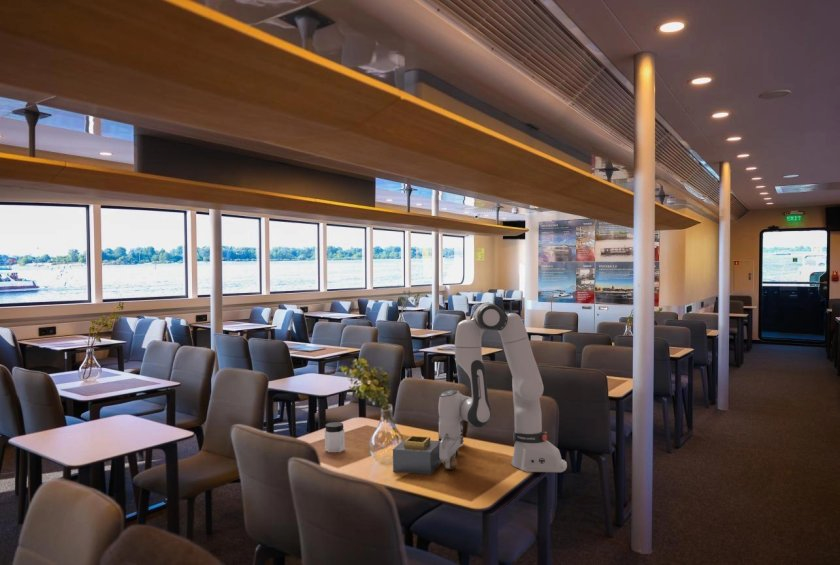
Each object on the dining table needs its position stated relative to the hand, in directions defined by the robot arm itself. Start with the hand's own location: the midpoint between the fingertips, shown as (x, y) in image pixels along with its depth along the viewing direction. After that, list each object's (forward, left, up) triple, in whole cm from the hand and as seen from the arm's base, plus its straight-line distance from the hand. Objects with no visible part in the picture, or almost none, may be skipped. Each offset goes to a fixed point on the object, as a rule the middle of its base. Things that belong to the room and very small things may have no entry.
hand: (450, 464), depth 237 cm
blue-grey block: (+14, 0, -2) cm, 14 cm away
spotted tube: (+6, -19, -2) cm, 20 cm away
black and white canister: (+7, -34, -2) cm, 35 cm away
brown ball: (0, 0, -2) cm, 2 cm away
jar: (+58, -12, -2) cm, 59 cm away
